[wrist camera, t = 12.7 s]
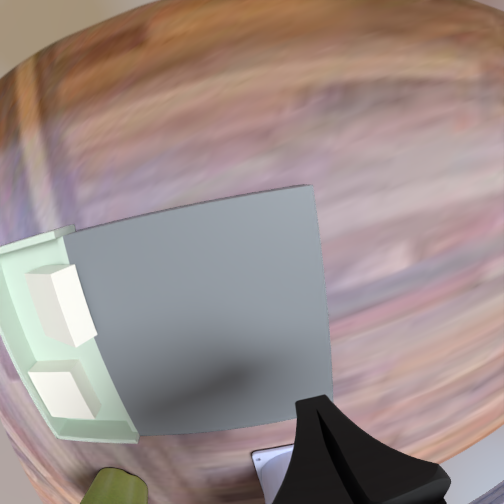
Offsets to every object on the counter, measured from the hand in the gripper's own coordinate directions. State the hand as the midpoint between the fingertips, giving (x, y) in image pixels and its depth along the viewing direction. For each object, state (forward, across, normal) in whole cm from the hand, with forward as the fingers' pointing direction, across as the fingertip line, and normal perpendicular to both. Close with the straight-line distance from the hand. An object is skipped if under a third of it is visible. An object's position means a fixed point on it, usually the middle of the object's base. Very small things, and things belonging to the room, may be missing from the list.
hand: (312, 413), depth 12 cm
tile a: (+8, +19, +4) cm, 21 cm away
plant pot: (+11, +20, +19) cm, 30 cm away
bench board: (+10, +5, 0) cm, 12 cm away
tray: (+10, +18, 0) cm, 21 cm away
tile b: (+9, +15, -5) cm, 18 cm away
